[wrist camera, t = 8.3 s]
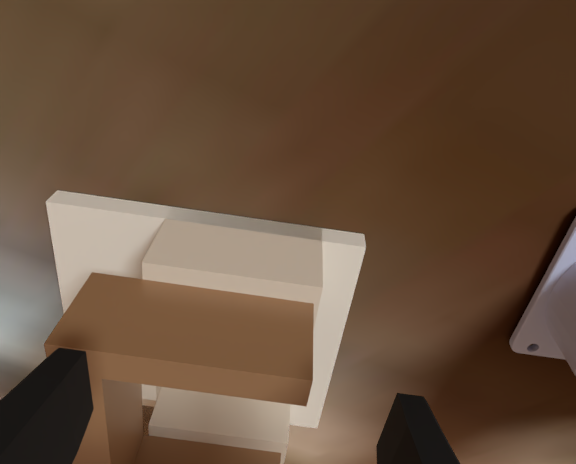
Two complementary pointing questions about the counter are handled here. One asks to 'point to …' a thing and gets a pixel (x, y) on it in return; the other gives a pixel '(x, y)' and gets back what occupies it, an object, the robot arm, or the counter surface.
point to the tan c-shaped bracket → (180, 360)
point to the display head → (219, 276)
